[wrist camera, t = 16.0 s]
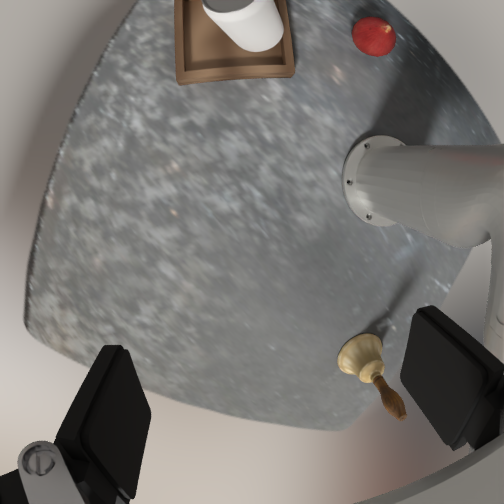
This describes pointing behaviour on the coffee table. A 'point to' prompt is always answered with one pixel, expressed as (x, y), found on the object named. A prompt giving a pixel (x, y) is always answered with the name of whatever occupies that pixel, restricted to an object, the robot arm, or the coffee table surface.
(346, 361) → the hand bell
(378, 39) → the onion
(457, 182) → the robot arm
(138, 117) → the coffee table surface
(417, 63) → the coffee table surface
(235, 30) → the can
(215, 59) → the tray
